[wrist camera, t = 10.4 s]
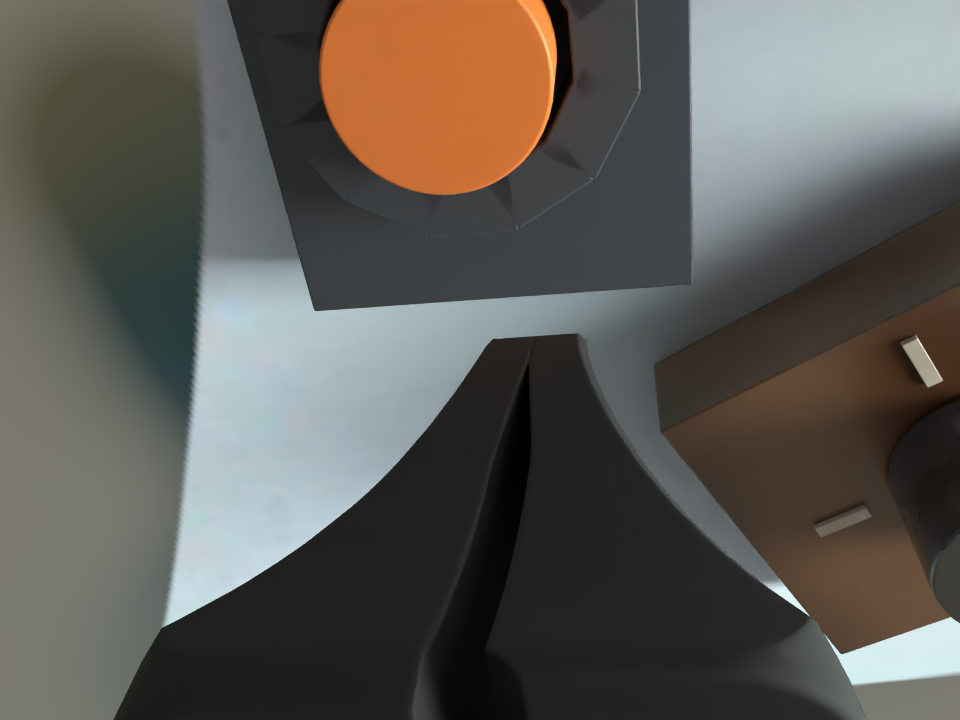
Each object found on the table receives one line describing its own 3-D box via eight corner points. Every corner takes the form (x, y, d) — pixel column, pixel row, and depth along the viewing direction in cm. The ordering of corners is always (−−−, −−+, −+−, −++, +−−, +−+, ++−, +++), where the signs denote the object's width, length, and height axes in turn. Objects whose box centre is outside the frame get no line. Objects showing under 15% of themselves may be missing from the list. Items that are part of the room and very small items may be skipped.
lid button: (565, 150, 17) (564, 186, 16) (366, 169, 18) (346, 206, 16) (545, -78, 15) (541, -60, 13) (318, -46, 16) (291, -25, 14)
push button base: (682, 232, 22) (701, 327, 19) (339, 260, 24) (293, 352, 20) (673, -379, 16) (699, -422, 12) (201, -289, 17) (94, -302, 14)
